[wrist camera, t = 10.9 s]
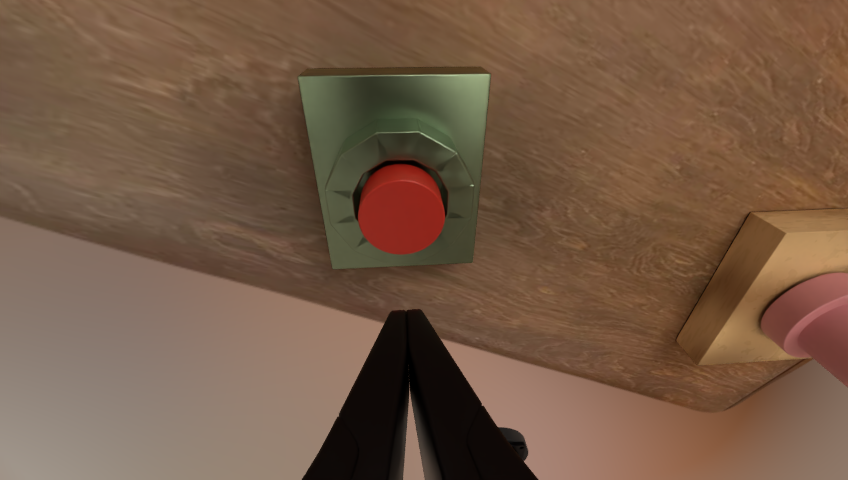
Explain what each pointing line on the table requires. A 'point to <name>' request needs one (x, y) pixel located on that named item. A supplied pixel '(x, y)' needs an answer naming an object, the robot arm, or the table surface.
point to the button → (401, 209)
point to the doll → (813, 322)
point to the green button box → (396, 150)
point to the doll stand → (762, 282)
